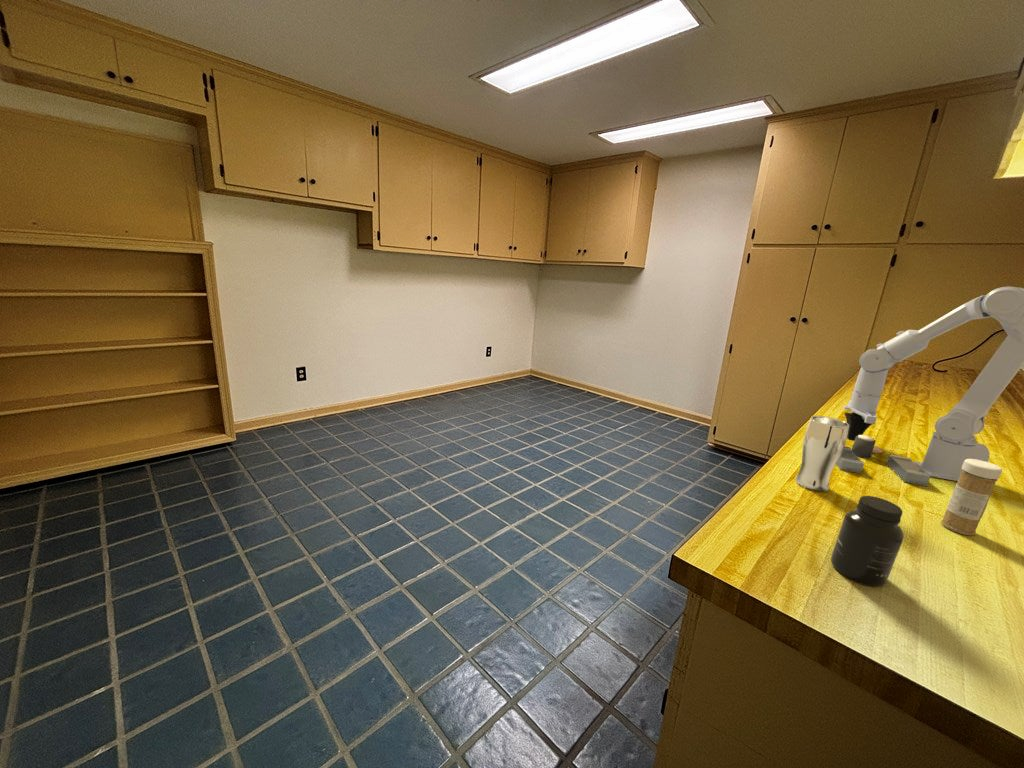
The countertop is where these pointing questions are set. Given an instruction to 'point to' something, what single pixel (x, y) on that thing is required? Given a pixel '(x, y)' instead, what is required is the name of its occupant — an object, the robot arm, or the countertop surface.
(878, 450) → the coaster
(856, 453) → the grey short cylinder
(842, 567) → the supplement bottle
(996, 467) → the sprinkles bottle
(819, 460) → the beer glass
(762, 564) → the countertop surface
